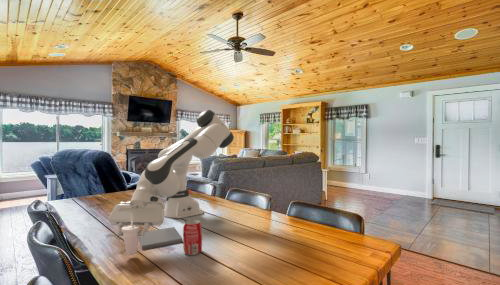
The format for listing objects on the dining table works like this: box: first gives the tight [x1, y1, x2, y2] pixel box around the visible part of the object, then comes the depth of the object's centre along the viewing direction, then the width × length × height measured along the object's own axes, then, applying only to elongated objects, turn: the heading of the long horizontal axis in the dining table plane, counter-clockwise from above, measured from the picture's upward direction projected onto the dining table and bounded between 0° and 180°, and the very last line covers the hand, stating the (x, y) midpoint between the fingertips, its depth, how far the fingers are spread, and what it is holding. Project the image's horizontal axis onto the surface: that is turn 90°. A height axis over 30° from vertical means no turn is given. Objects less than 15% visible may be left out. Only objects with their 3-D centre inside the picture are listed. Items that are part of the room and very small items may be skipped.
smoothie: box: [122, 214, 142, 256], centre depth 95 cm, size 6×6×14 cm
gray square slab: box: [138, 226, 183, 250], centre depth 113 cm, size 16×16×2 cm
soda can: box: [182, 218, 203, 256], centre depth 100 cm, size 7×7×12 cm
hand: (130, 235), depth 94 cm, fingers closed on smoothie, 6 cm apart
